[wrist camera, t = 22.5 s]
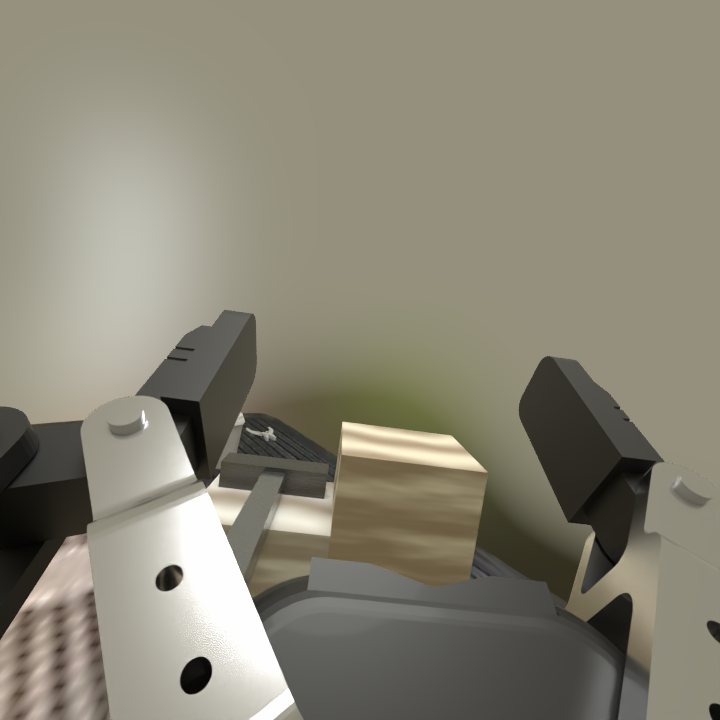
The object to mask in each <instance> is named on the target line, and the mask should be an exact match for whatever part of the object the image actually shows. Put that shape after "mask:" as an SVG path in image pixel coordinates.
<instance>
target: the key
mask: <svg viewBox="0 0 720 720" xmlns="http://www.w3.org/2000/svg"><path fill="white" fill-rule="evenodd" d="M328 467H329V464H323V463H315V462H306V461H298V460H290V459H281V458H273V457H265V456H257V455H248V454H240V453H232V452H229V453H228V455H227V456H226V457H225V458H224V459H223V460H222V461H221V468H220V477H219V486H218V487H223V488H232V489H240V490H249V491H251V493H250V495H249V497H248V498H247V500H246V502H245V504H244V505H243V507H242V509H241V511H240V512H239V514H238V516H237V518H236V519H235V521H234V523H233V525H232V526H231V528H230V530H229V532H228V534H227V535H226V538H227V541H228V543H229V545H230V548H231V550H232V553H233V555H234V558H235V560H236V562H237V565H238V567H239V570H240V572H241V575H242V577H243V579H244V582H245V584H246V587H247V589H248V587H249V584H250V581H251V579H252V576H253V573H254V570H255V568H256V565H257V562H258V560H259V557H260V554H261V552H262V549H263V546H264V544H265V541H266V538H267V535H268V533H269V530H270V527H271V525H272V522H273V519H274V517H275V514H276V511H277V508H278V506H279V503H280V500H281V498H282V495H283V494H284V495H292V496H301V497H310V498H318V499H324V497H325V490H326V483H327V475H328Z"/></svg>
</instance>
